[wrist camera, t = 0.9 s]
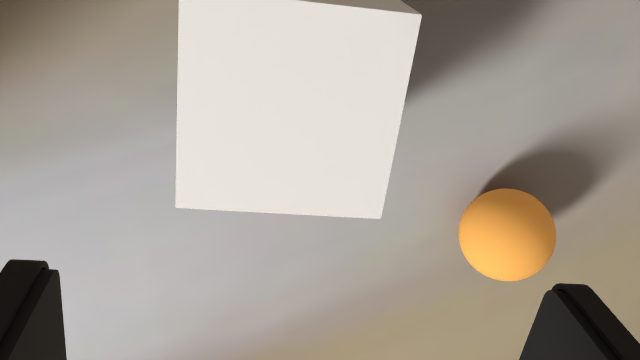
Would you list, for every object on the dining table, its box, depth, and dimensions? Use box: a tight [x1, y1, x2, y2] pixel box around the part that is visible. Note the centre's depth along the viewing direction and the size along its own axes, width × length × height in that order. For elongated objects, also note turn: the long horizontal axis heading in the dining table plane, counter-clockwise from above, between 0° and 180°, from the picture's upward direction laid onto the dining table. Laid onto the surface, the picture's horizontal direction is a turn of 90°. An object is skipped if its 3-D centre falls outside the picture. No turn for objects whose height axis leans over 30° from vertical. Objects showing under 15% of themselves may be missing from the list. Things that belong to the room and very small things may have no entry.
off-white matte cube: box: [175, 0, 422, 219], centre depth 23 cm, size 8×8×9 cm
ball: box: [459, 188, 556, 281], centre depth 30 cm, size 5×5×5 cm
